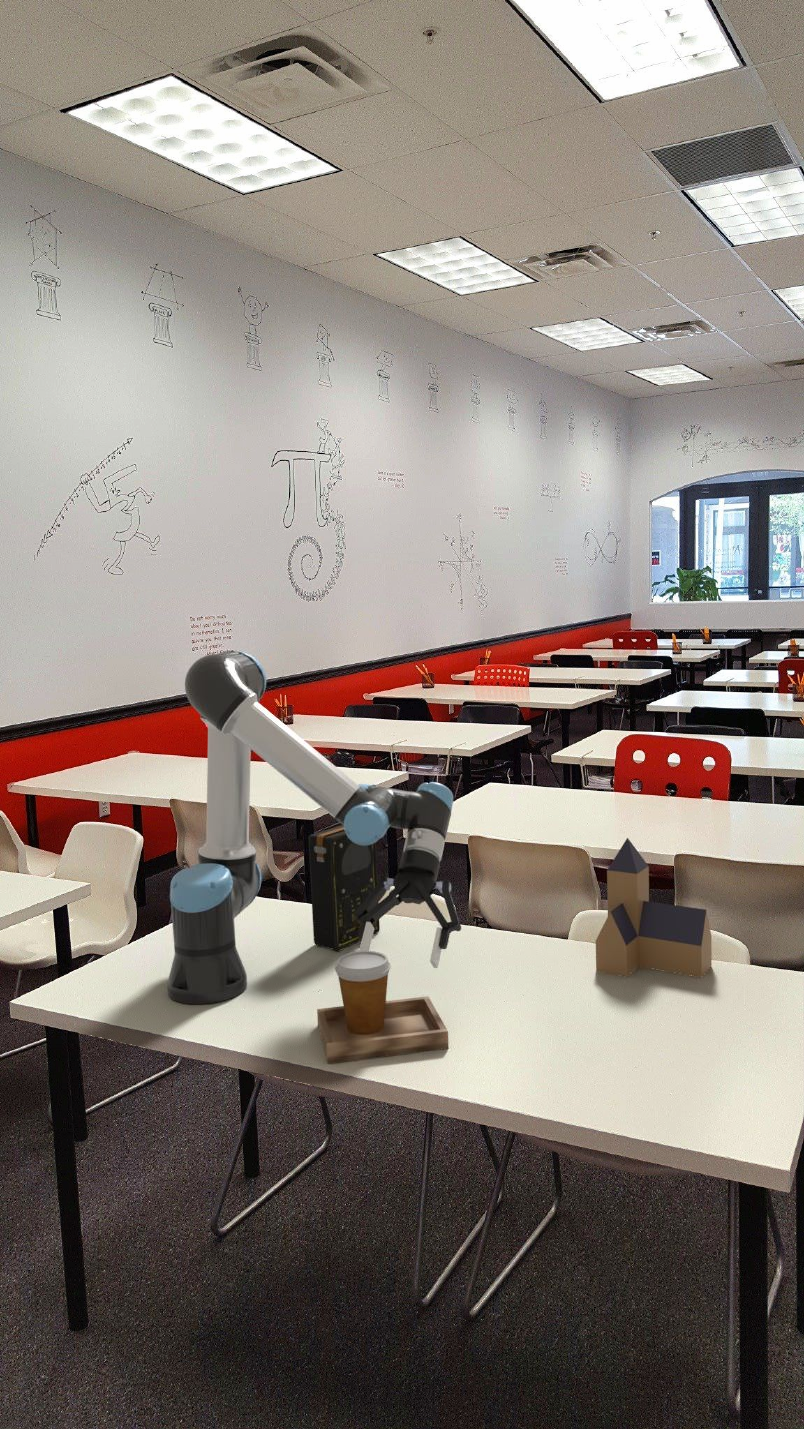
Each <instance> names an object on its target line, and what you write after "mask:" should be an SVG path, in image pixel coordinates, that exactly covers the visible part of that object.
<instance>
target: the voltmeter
mask: <svg viewBox="0 0 804 1429" xmlns="http://www.w3.org/2000/svg"><path fill="white" fill-rule="evenodd" d="M308 856H309V874H310V875H309V876H310V891H311V892H310V893H311V894H310V895H311V896H310V897H311V907H312V908H311V911H312V912H311V914H312V931H313V932H312V933H313V943H314V945H315V946H317V947H323V948H325V949H331V950H332V951H333V952H337V953H338V952H340V951H341V949H342V950H344V949H346V948H348V947H350V946H353V945H354V943H355V944H356V942H357V943H359V942H361V941H360V940H359V937H358V935H359V931H360V927H361V923H358V922H357V920H356V919H355V917H354V913H355V912H356V910H357V909H358V908H359V907H360V905H361V904H362V903H363V902H364V900H365V899H366V898H367V897H368V895H369V894H370V893H371V892H372V890H373V889H374V888H375V887H376V885H377V884H378V881H379V879H378V863H377V862H378V861H377V859H378V858H377V841H376V842H375V843H373V844H371V845H358V844H356V843H354V842H352V841H351V840H350V839H349V838H348V836H347V835H346V833H345V830H344V826H343V825H342V824H341V825H338V826H335V827H332V828H329V829H326V830H322V831H319V832H316V833H313V834H310V835H309V836H308ZM379 903H380V901H379V902H378V904H379ZM372 926H373V927H374V933H373V936H374V935H376V934H378V933H379V932H380V927H381V926H380V919H379V920H378V921H376V922H375V923H374V924H373V925H372ZM358 941H359V942H358ZM352 944H353V945H352ZM343 948H344V949H343ZM339 950H340V951H339Z"/></svg>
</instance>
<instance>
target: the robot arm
mask: <svg viewBox="0 0 804 1429" xmlns="http://www.w3.org/2000/svg"><path fill="white" fill-rule="evenodd" d="M184 680H185V681H184V691H185V694H186V697H187V700H188V702H189V704H190V705H191V707H193V709H195V711H197V713H198V714H199V715H200V720H201V721H202V722H203V723H204V724H205V725H206V726H207V768H206V770H207V773H206V774H207V775H206V778H207V779H206V785H207V786H206V828H205V831H206V832H205V835H206V836H205V837H206V838H205V839H206V841H205V843H204V844H203V845H202V846H200V848H199V849H198V858H197V860H198V861H197V863H198V864H195V865H191V866H190V867H186V868H182V869H181V870H179V871H177V872H176V874H174V876H173V877H172V879H171V881H170V891H169V892H170V893H169V900H170V901H169V902H170V908H171V920H172V921H171V924H172V932H173V933H172V934H173V946H174V955H173V960H172V963H171V967H170V972H169V974H168V975H169V976H168V980H167V995H168V997H169V998H170V999H171V1000H173V1001H174V1002H175V1001H176V1002H177V1003H182V1004H189V1005H206V1004H213V1003H219V1002H222V1001H223V1002H224V1001H228V1000H230V999H233V998H235V997H237V996H239V995H240V994H242V993H243V992H244V991H245V990H246V989H247V987H248V976H247V975H248V974H247V971H246V969H245V966H244V964H243V961H242V959H241V957H240V955H239V951H238V949H237V946H236V945H237V944H236V930H235V929H236V928H235V918H237V917H238V916H239V915H240V914H241V913H242V912H243V911H244V910H245V909H247V908H248V907H250V905H251V904H252V903H253V901H254V900H255V899H256V898H257V896H258V893H259V891H260V889H261V884H262V870H261V868H260V866H259V863H258V862H257V861H256V860H257V859H256V856H257V855H256V854H257V850H256V848H255V847H254V846H253V845H252V844H251V843H250V839H249V838H250V797H251V794H250V792H251V789H250V788H251V758H252V757H251V754H252V752H251V751H253V752H254V753H255V754H256V755H257V756H259V757H260V758H261V759H262V760H263V761H265V762H266V764H268V765H270V766H271V767H272V768H273V769H275V770H276V771H277V772H278V773H279V774H281V775H282V776H283V777H284V778H285V779H287V780H288V781H289V782H290V783H291V784H293V785H294V787H296V788H298V789H299V790H300V791H301V792H302V793H304V794H305V795H306V796H307V797H308V798H310V800H312V801H313V802H315V803H316V804H317V805H318V806H320V807H321V808H322V809H323V810H324V811H326V813H328V814H329V815H330V816H331V817H333V818H334V819H335V820H337V822H339V823H340V824H341V825H343V826H344V830H345V833H346V835H347V836H348V838H349V839H350V840H351V841H352V842H354V843H356V844H358V845H371V844H373V843H375V842H376V843H377V842H378V841H379V840H380V839H382V838H383V837H384V836H385V835H386V834H387V831H388V829H389V828H394V829H401V830H407V832H406V836H405V841H404V844H403V850H402V854H401V857H400V861H399V863H398V864H399V865H398V867H397V868H398V870H397V875H396V876H395V877H394V878H390V877H387V876H386V875H385V874H381V875H380V876H379V877H378V878H379V879H378V884H377V885H376V887H375V888H374V889H373V890H372V892H371V893H370V894H369V895H368V897H367V898H366V899H365V900H364V902H363V903H362V904H361V905H360V907H359V908H358V909H357V910H356V912H355V913H354V917H355V919H356V920H357V922H358V923H361V927H360V931H359V935H358V937H359V940H360V941H359V942H360V945H359V946H360V947H359V949H358V951H370V948H371V944H372V941H373V936H374V935H373V933H374V927H373V926H372V925H373V924H374V923H375V922H376V921H378V920H379V921H380V919H381V918H383V917H384V916H385V915H386V914H388V913H389V912H390V911H391V910H392V909H393V908H395V906H399V905H400V904H402V902H404V904H416V905H421V904H422V903H426V905H427V907H428V908H429V910H430V911H431V913H432V914H433V916H434V917H435V919H436V921H437V922H438V923H439V926H440V927H439V926H438V927H436V931H435V934H434V935H435V936H434V940H433V944H432V949H431V954H430V960H429V962H430V964H431V966H432V968H433V969H435V968H436V969H438V968H439V962H440V957H441V953H442V950H447V948H448V944H449V939H450V935H451V933H452V932H461V930H462V925H461V921H460V919H459V916H458V912H457V910H456V906H455V903H454V900H453V896H452V890H453V887H452V884H451V882H450V880H449V879H448V878H444V879H443V880H442V881H437V880H438V875H439V870H440V866H441V861H442V857H443V852H444V847H445V842H446V838H447V833H448V829H449V825H450V822H451V821H450V820H451V817H452V809H453V804H454V794H453V792H452V790H451V789H449V787H447V786H446V785H444V784H442V783H439V782H435V781H430V782H429V783H428V782H423V783H421V784H420V785H419V786H418V787H417V789H416V791H408V790H401V789H396V788H391V787H385V786H381V785H376V784H367V783H366V784H365V783H359V784H358V783H357V782H355V781H354V780H353V779H352V778H350V777H349V776H348V775H347V774H345V772H343V771H341V770H340V768H338V767H337V766H336V765H334V764H333V763H332V762H331V761H330V760H329V759H327V758H326V757H325V756H323V755H322V754H321V752H319V751H318V750H316V749H315V748H314V747H313V746H312V745H311V744H309V743H308V742H307V741H305V740H304V739H303V738H302V737H300V735H298V733H296V732H295V731H293V729H291V728H290V727H289V726H287V725H286V724H285V723H284V722H282V721H281V720H280V719H279V718H278V717H276V716H275V715H274V714H272V712H270V711H269V710H268V709H267V708H266V707H264V706H263V705H262V704H261V703H260V700H261V699H262V698H263V696H264V694H265V691H266V688H267V676H266V672H265V669H264V667H263V664H261V663H260V661H259V660H258V659H256V658H255V657H254V656H253V655H251V654H249V653H247V652H243V651H239V650H238V651H235V650H225V651H223V652H219V653H215V654H213V653H212V654H207V655H204V656H202V657H200V658H198V660H195V662H194V663H192V665H191V666H190V667H189V669H188V671H187V673H186V675H185V679H184ZM392 887H394V888H393V889H391V888H392ZM390 890H391V891H390ZM437 890H438V891H439V892H440V894H442V895H443V899H444V902H445V905H446V908H447V912H448V915H449V918H450V921H447V920H446V917H445V916H444V915H443V913H442V912H441V911H440V909H439V907H438V905H437V904H436V903H435V901H434V900H433V898H432V895H433V894H434V893H435V892H436V891H437ZM387 891H390V892H389V893H388V895H387V896H386V897H385V898H383V897H384V896H385V895H386V893H387ZM378 902H379V904H378Z"/></svg>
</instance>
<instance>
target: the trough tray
mask: <svg viewBox="0 0 804 1429" xmlns="http://www.w3.org/2000/svg"><path fill="white" fill-rule="evenodd" d="M316 1014H317V1028H318V1031H319V1035H320V1039H321V1042H322V1047H323V1050H324V1053H325V1054H324V1055H325V1058H326V1062H327V1065H329V1064H336V1063H345V1062H352V1061H360V1060H368V1059H376V1058H384V1057H391V1056H394V1057H395V1056H402V1055H409V1054H416V1053H424V1052H431V1051H440V1050H448V1049H449V1047H450V1046H449V1030H448V1029H447V1027H446V1025H445V1024H444V1022H443V1020H442V1018H441V1017H440V1016H441V1015H440V1014H439V1013H438V1011H437V1009H436V1007H435V1005H434V1003H433V1002H432V1000H431V998H430V997H429V995H427V996H418V997H410V998H402V999H393V1000H392V999H391V1000H386V1005H385V1017H384V1027H383V1029H382V1030H380V1031H378V1032H376V1033H372V1034H366V1035H364V1034H355V1033H352V1032H350V1031H349V1030H348V1029H347V1023H346V1017H345V1011H344V1005H342V1006H341V1005H339V1006H333V1007H323V1008H317V1009H316Z"/></svg>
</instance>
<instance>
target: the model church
mask: <svg viewBox="0 0 804 1429" xmlns="http://www.w3.org/2000/svg"><path fill="white" fill-rule="evenodd" d="M649 868H650V866H649V864H648V863H647V862H646V861H645V859H644V858H643V857H642V855H641V854H640V852H639V851H638V850H637V848H636V847H635V846H634V844H633V843H632V842H631V840H630V839H629V837H627V838H626V839H625V841H624V842H623V844H622V846H621V847H620V849H619V850H618V852H617V854H616V855H615V857H614V859H613V860H612V862H611V863H610V865H609V866H608V868H607V870H606V881H607V882H606V883H607V885H606V886H607V888H606V889H607V890H606V891H607V892H606V894H607V916H606V917H607V918H606V919H605V921H604V924H603V926H602V928H601V929H600V931H599V933H598V935H597V938H596V939H595V972H599V973H602V972H604V973H603V974H610V975H613V974H614V976H618V975H621V976H620V977H624V976H625V978H628V977H629V976H630V975H631V974H632V973H633V972H634V971H635V970H636V969H638V968H639V966H640V968H645V967H646V968H645V969H650V968H654V969H653V970H656V969H658V970H657V971H661V970H664V972H667V971H668V972H667V973H673V972H676V973H675V974H678V973H681V974H680V975H684V976H689V975H692V976H691V977H695V976H696V977H695V978H700V977H702V976H703V975H704V974H705V973H707V972H709V970H710V969H711V968H712V967H713V966H712V958H713V957H712V954H713V953H712V933H711V932H712V931H711V928H710V922H709V916H708V910H707V909H704V908H698V907H697V908H696V907H689V906H685V905H675V904H668V903H661V902H656V901H655V902H654V901H650V878H649V876H650V874H649V873H650V872H649V871H650V869H649ZM711 966H712V967H711ZM710 967H711V968H710ZM709 968H710V969H709ZM633 970H634V971H633ZM631 972H632V973H631ZM630 973H631V974H630ZM705 975H706V974H705ZM705 975H704V976H705ZM704 976H703V977H704ZM703 977H702V978H703Z"/></svg>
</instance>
